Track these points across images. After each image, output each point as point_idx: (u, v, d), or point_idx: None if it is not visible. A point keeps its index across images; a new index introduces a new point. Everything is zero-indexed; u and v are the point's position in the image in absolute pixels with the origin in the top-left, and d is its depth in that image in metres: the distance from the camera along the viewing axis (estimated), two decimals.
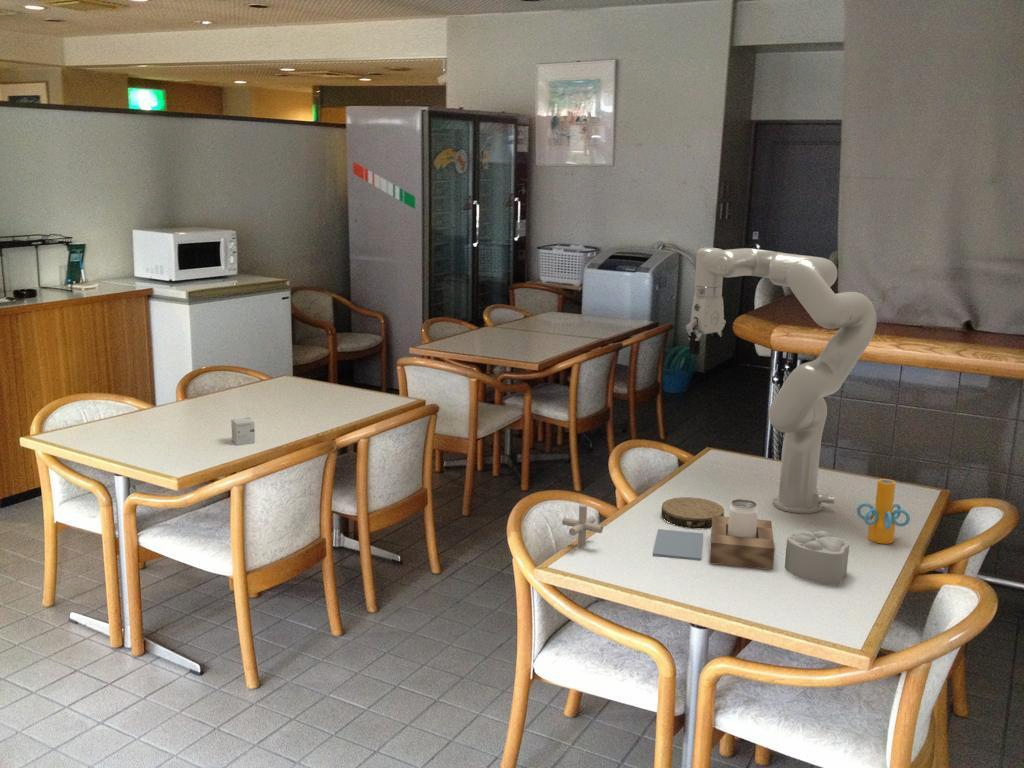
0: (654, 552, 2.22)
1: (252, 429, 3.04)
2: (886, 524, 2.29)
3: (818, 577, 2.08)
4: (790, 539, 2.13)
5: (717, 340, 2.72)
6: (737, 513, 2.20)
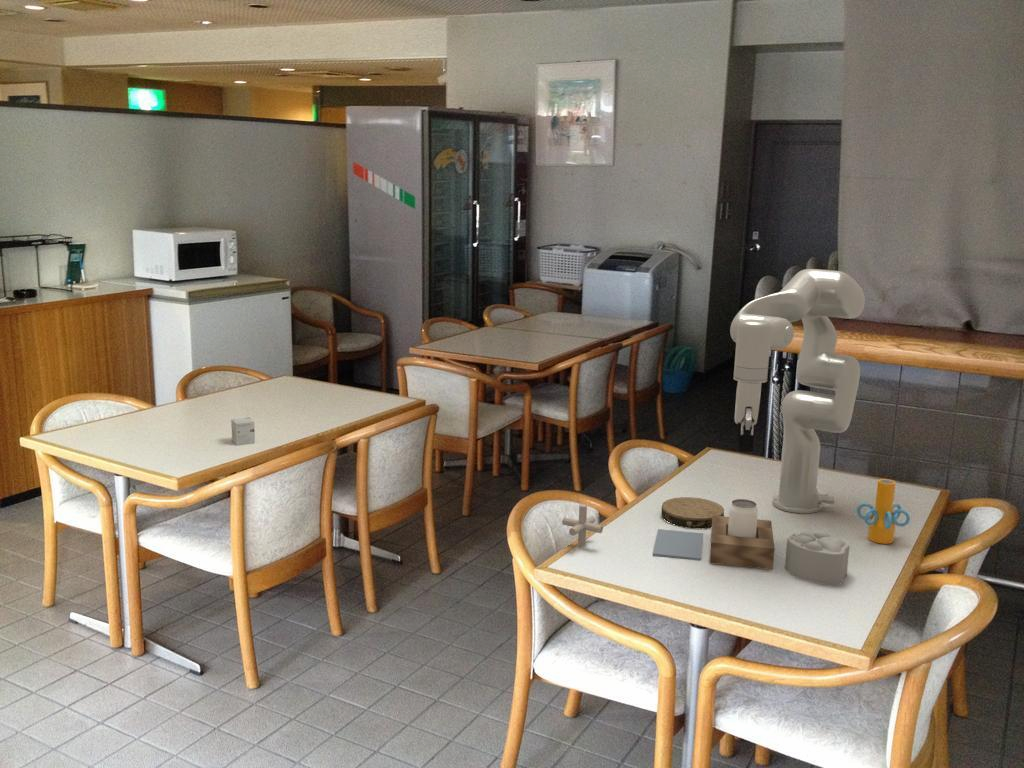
0: (654, 552, 2.22)
1: (252, 429, 3.04)
2: (886, 524, 2.29)
3: (819, 578, 2.08)
4: (790, 539, 2.13)
5: None
6: (737, 513, 2.20)
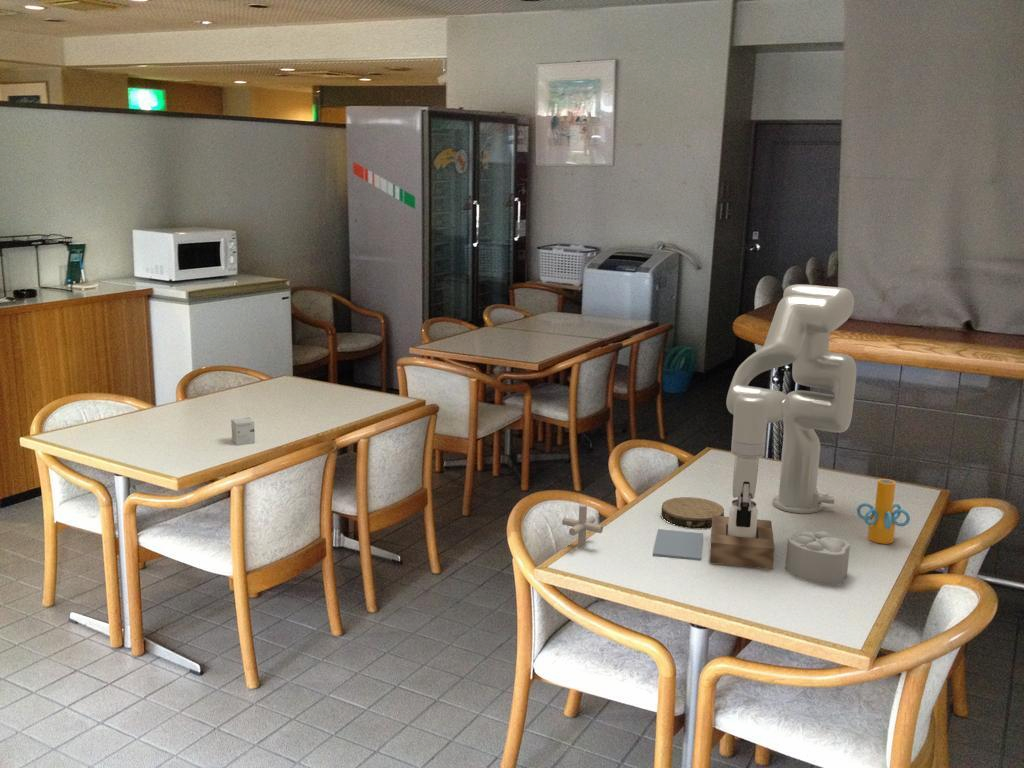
0: (654, 552, 2.22)
1: (252, 429, 3.04)
2: (886, 524, 2.29)
3: (820, 578, 2.07)
4: (791, 540, 2.13)
5: None
6: None
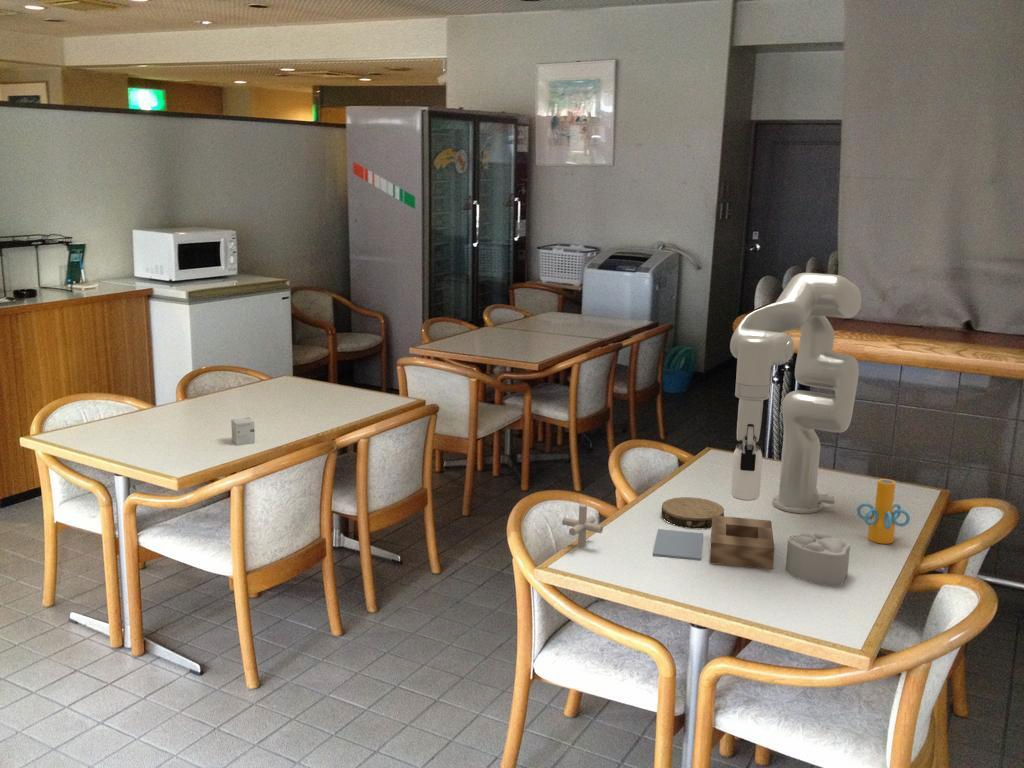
0: (654, 552, 2.22)
1: (252, 429, 3.04)
2: (886, 524, 2.29)
3: (820, 578, 2.07)
4: (791, 540, 2.12)
5: None
6: None
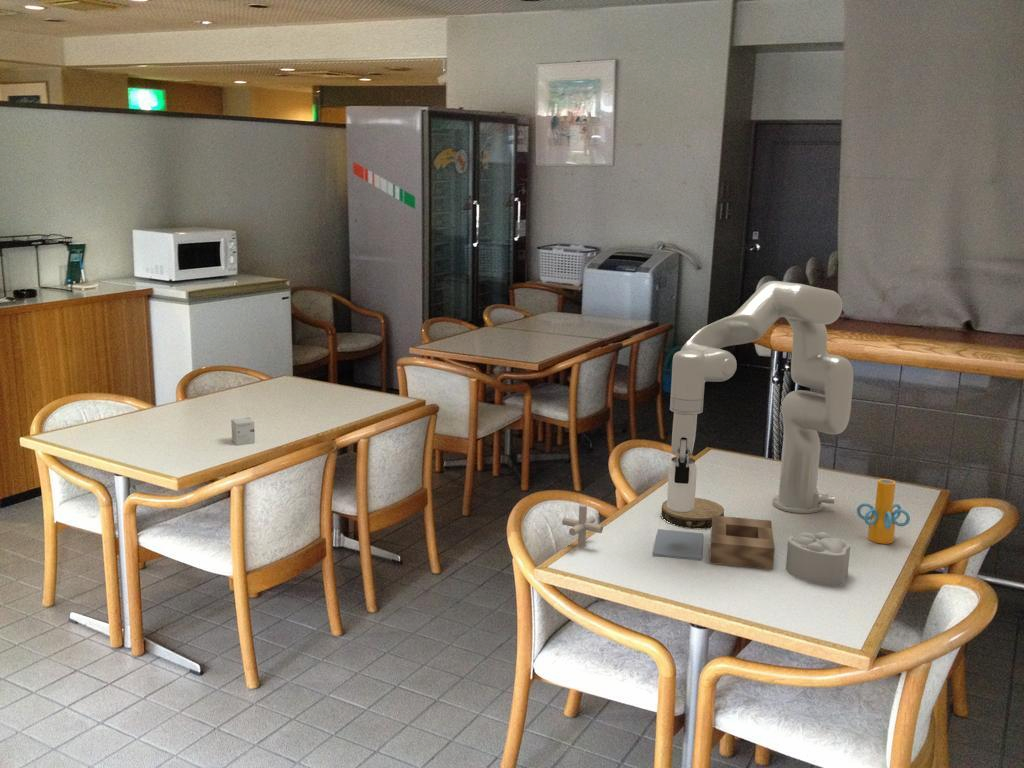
0: (654, 552, 2.22)
1: (252, 429, 3.04)
2: (886, 524, 2.29)
3: (821, 579, 2.07)
4: (791, 541, 2.12)
5: None
6: None
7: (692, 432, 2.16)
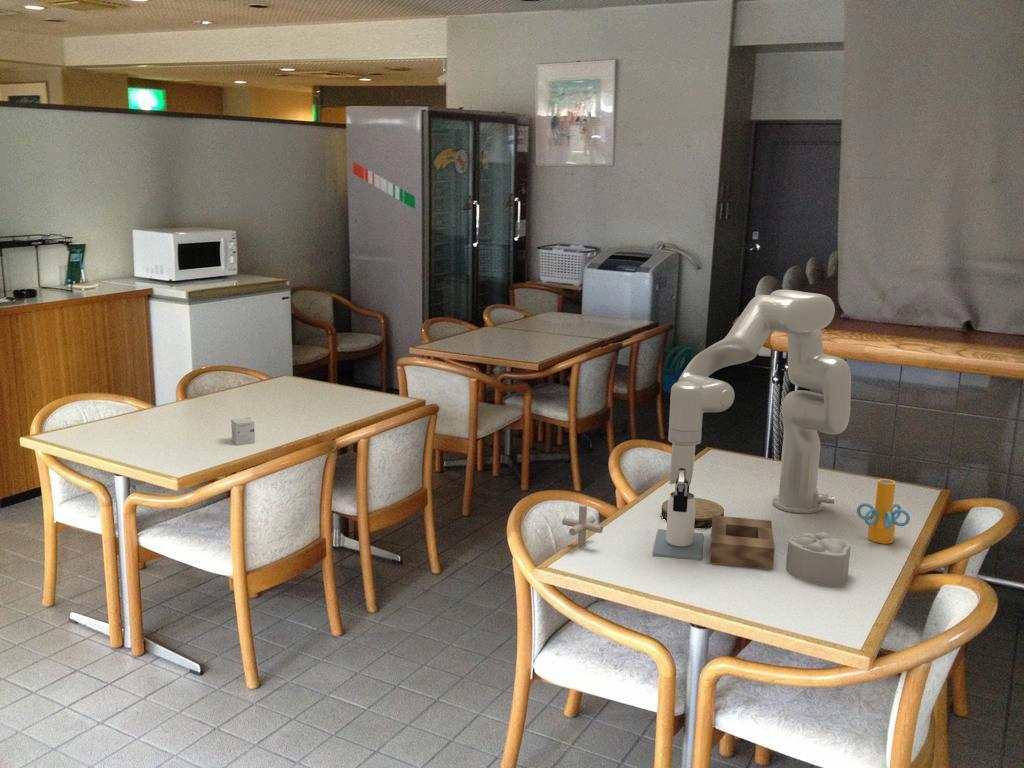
0: (654, 552, 2.22)
1: (252, 429, 3.04)
2: (886, 524, 2.29)
3: (821, 579, 2.07)
4: (792, 541, 2.12)
5: None
6: None
7: (690, 463, 2.18)
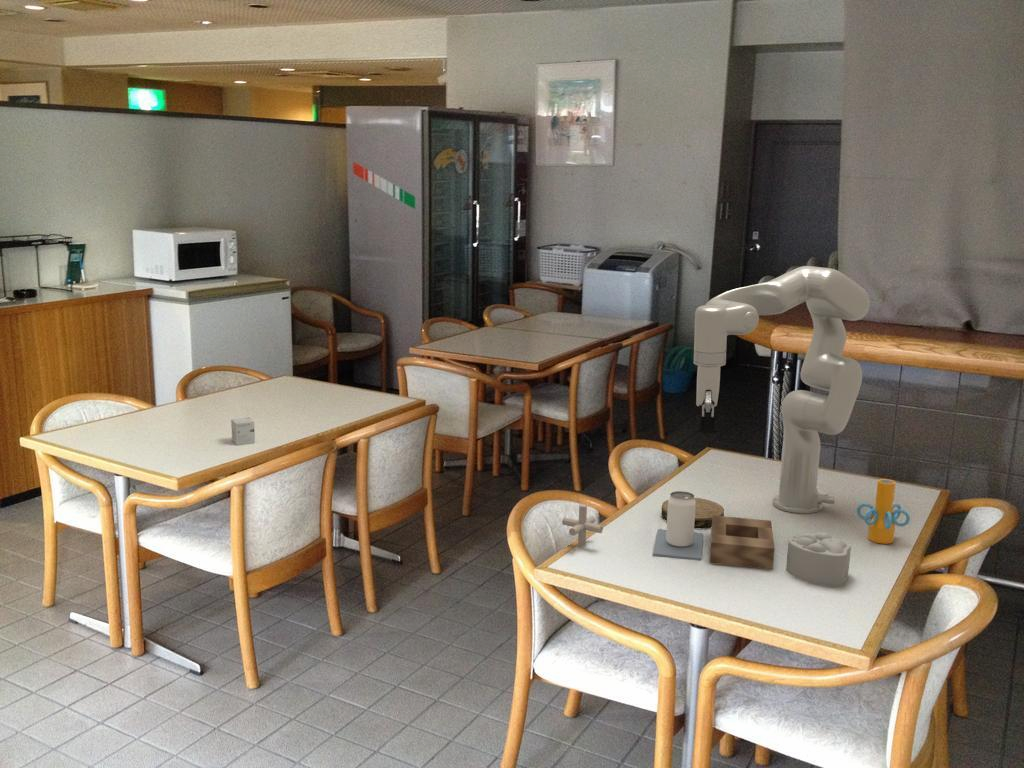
0: (654, 552, 2.22)
1: (252, 429, 3.04)
2: (886, 524, 2.29)
3: (822, 579, 2.07)
4: (792, 541, 2.12)
5: None
6: (675, 504, 2.23)
7: (716, 384, 2.23)
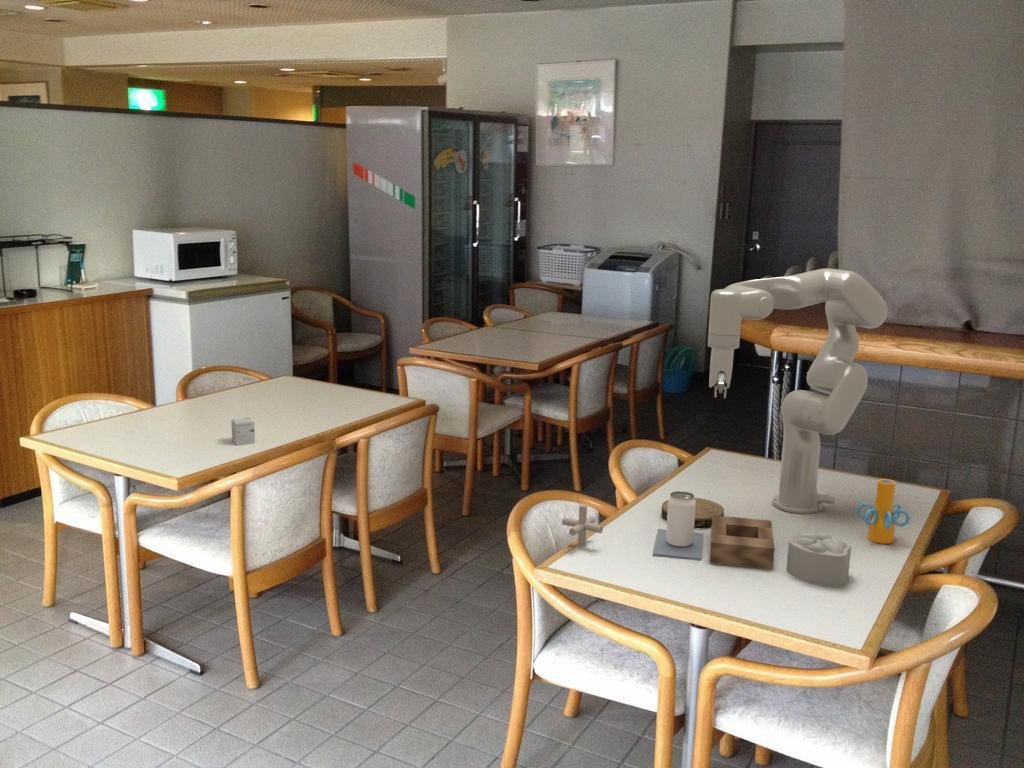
0: (654, 552, 2.22)
1: (252, 429, 3.04)
2: (886, 524, 2.29)
3: (822, 580, 2.07)
4: (792, 542, 2.12)
5: None
6: (675, 504, 2.23)
7: (729, 366, 2.27)
